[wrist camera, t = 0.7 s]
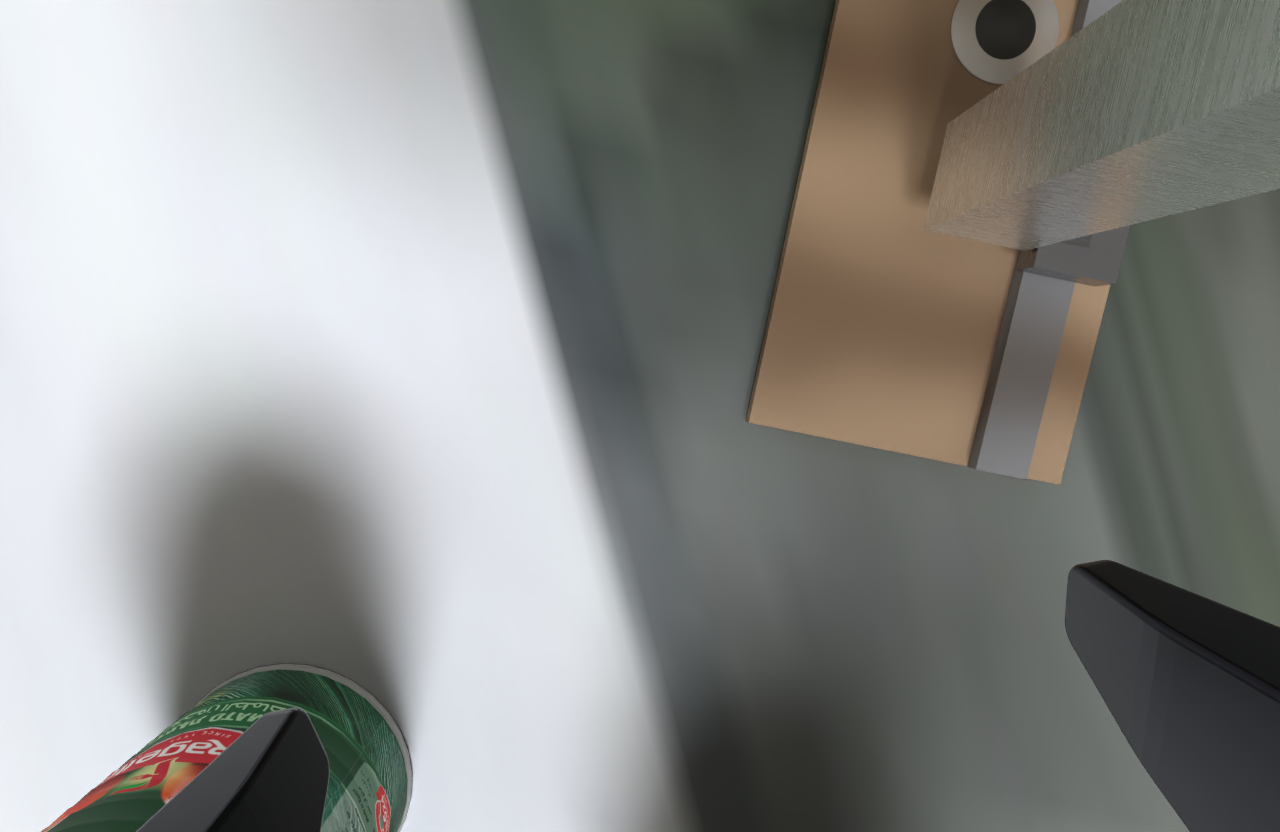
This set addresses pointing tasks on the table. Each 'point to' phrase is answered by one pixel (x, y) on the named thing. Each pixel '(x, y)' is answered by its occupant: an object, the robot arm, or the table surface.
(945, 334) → the bolt board
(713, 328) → the table surface
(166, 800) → the canned tomato
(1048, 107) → the sliding leg
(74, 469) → the table surface
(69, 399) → the table surface
